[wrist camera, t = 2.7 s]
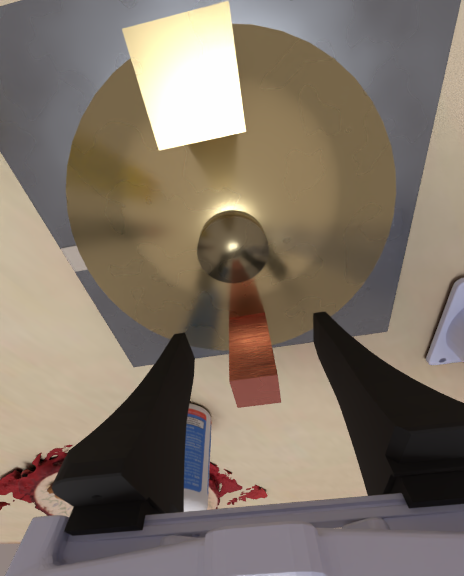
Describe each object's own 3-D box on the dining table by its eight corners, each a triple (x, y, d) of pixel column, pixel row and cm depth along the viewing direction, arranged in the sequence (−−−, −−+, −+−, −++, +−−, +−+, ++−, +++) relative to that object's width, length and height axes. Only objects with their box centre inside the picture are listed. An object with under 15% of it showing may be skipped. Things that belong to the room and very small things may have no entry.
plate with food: (152, 521, 44) (147, 550, 41) (-9, 480, 32) (-32, 517, 29) (268, 481, 36) (272, 514, 33) (113, 406, 24) (98, 447, 21)
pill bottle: (143, 408, 23) (99, 563, 15) (195, 394, 22) (177, 552, 14) (174, 435, 26) (150, 577, 18) (221, 424, 25) (218, 569, 17)
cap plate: (462, -106, 8) (494, -137, 7) (379, 321, 18) (388, 332, 17) (-50, 36, 9) (-80, 27, 8) (137, 356, 19) (133, 368, 18)
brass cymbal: (405, -12, 8) (637, -183, 4) (361, 315, 16) (416, 395, 11) (12, 87, 9) (-194, 56, 5) (149, 346, 17) (120, 430, 12)
